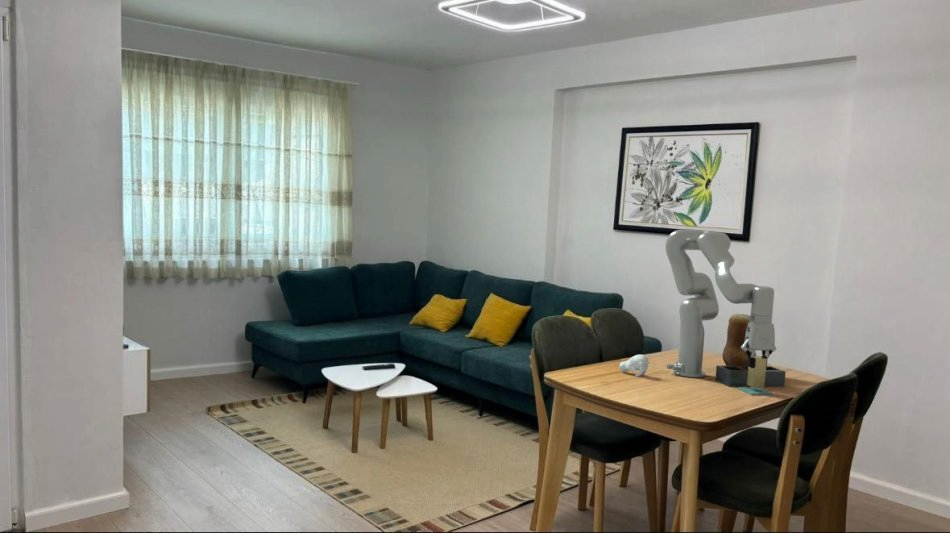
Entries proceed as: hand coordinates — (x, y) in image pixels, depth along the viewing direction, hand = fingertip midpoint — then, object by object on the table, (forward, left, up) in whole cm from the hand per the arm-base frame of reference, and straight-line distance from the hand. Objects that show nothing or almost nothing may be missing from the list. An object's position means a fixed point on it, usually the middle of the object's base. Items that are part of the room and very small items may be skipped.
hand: (757, 367), depth 271 cm
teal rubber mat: (0, 0, -10) cm, 10 cm away
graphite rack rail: (+6, +13, -10) cm, 17 cm away
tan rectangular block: (0, 0, -7) cm, 7 cm away
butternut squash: (+12, +31, -10) cm, 35 cm away
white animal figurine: (-37, +28, -10) cm, 47 cm away
